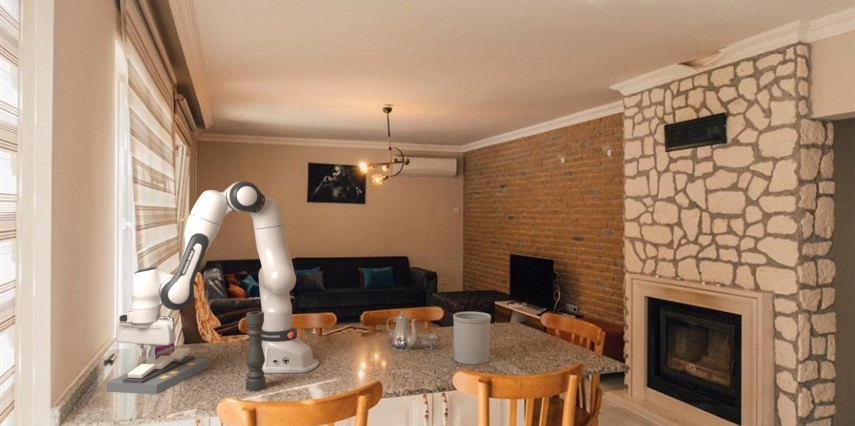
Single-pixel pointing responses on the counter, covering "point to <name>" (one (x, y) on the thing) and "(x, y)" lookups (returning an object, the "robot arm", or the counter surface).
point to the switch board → (159, 377)
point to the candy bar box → (160, 350)
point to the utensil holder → (471, 337)
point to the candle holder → (255, 352)
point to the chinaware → (408, 335)
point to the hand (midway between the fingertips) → (145, 356)
